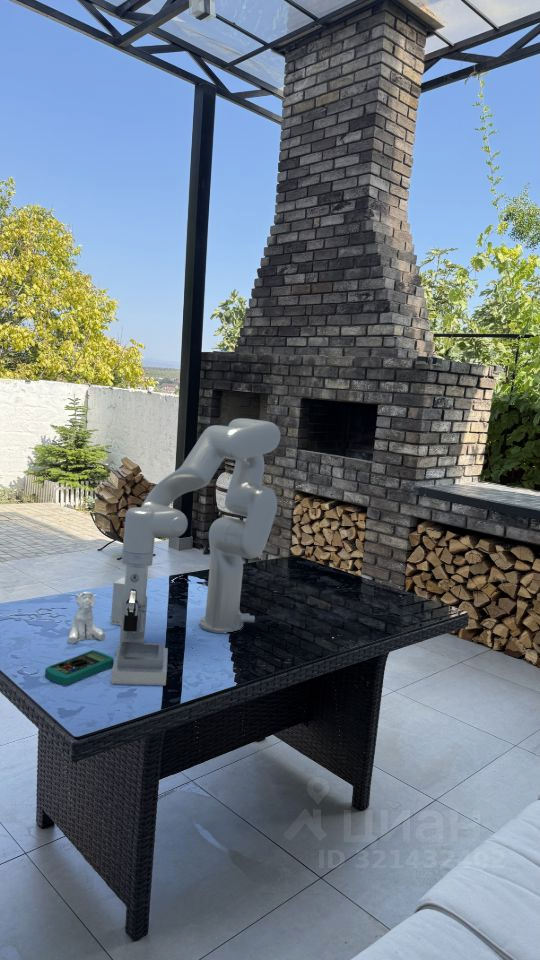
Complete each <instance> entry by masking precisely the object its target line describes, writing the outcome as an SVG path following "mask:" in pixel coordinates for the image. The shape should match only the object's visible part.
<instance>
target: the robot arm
mask: <svg viewBox="0 0 540 960" xmlns="http://www.w3.org/2000/svg"><path fill="white" fill-rule="evenodd" d="M280 441H281V430H280V429H279V427H278V426H277V424H275V423H273V422H271V421H267V420H261V419H260V420H259V419H252V418H235V419H233V420H231V421H230V422H229V424H228V426H226V425H219V424H218V425H217V424H215V425H210V426H208V427H207V428H206V429H204V431H203V432H202V433H201V435H200V436H199V438H198V440H197V441H196V443H195V445H194V446H193V447H192V449H191V450H190V451H189V453H188V455H187V457H186V458H185V459H184V461H183V463H182V464H181V466H180V467H179V468H177V469H176V470H175V471H173V472H171V473H170V474H169V475H167V476H166V477H164V478H163V479H162V480H161V481H159V482H157V484H156V485H155V486H154V487H153V488H152V489H151V491H150V492H149V493H148V495H147V496H146V498H145V499H144V501H143V502H142V504H141V506H140V507H139V506H138V507H137V506H135V507H130V508H129V509H127V510H126V513H125V519H124V529H123V530H124V532H123V533H124V534H123V544H122V554H121V564H122V565H125V575H124V578H125V589H124V604H125V605H127V606H126V614H125V616H124V627H123V630H124V631H133V632H136V631H137V622H138V615H137V611H138V604H139V605H141V606H143V605H144V603H145V596H146V597H147V585H148V573H149V572H148V570H149V567H151V566H152V565H153V561H154V560H153V558H154V550H155V549H154V548H155V539H156V538H164V539H176V538H179V537H180V536H182V535H184V534H185V532H186V531H187V529H188V518H187V516H186V515H185V513H183V512H182V511H181V510H179V509H176V508H173V507H170V505H171V504H172V503H173V502H174V501H175V500H176V499H177V498H179V497H181V496H182V495H184V494H187V493H189V492H193V491H197V490H199V489H202V488H204V487H206V486H208V485H209V483H210V482H211V480H212V479H213V478H214V475H215V473H217V471H218V468H220V465H221V464H222V463H223V461H224V460H225V459H229V460H232V461H235V464H234V469H233V472H232V476H231V478H230V482H229V484H228V489H227V492H226V495H225V500H224V505H225V508H226V509H227V510H228V511H229V512H230V513H233V514H236V515H239V516H242V517H245V518H246V519H245V521H243V520H241V519H237V518H233V517H229V516H228V517H227V516H222V517H219V518H217V519H215V520H214V521H213V522H212V524H211V525H210V528H209V530H208V543H209V555H210V556H209V557H210V558H209V572H208V583H207V594H206V595H207V596H206V604H205V605H206V606H205V615H204V616H203V617H200V619H199V626H200V627H201V629H203V630H206V631H207V632H212V633H216V634H225V633H224V632H233V631H237V630H240V629H241V628H242V627H243V628H244V623H255V621H256V620H255V619H256V617H255V615H250V613H242V611H241V610H240V603H241V594H242V593H241V592H242V584H243V583H242V582H243V573H244V563H243V558H245V559H257V558H258V557H259V556H260V555H261V554H262V553H263V551H264V549H265V548H266V545H267V543H268V540H269V537H270V533H271V530H272V527H273V524H274V521H275V518H276V517H275V516H276V514H277V510H278V499H277V496H276V495H277V494H276V493H275V492H274V490H273V489H272V488H270V487H268V486H265V485H262V481H263V477H264V473H265V460H264V457H263V455H265V454H268V453H271V452H272V451H274V450H275V449H276V448H277V447H278V445H279V443H280ZM136 590H137V592H136ZM135 602H137V603H135ZM135 607H136V608H135ZM243 628H242V629H243ZM242 629H241V630H242ZM241 630H240V631H241Z"/></svg>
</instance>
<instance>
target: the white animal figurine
mask: <svg viewBox="0 0 540 960" xmlns="http://www.w3.org/2000/svg"><path fill="white" fill-rule="evenodd" d="M73 595H74V598H75V599H76V600H77V602H76V604H77V606H78V609H77V610H76V612H75V614H74V617H73V618H74V619H73V621H72V622H71V627H70V631H69V633H68V636H67V637H68V639H67V641H68V643H69V644H71V645H73V644H76V643H77V642H82V641H85V640H87V641H89V640H90V641H91V640H98V641H101V642H102V641H104V640H105V638H106V633H105V632H104V631H103V630H102V628H99V627H96V625H95V624H94V613H93V610H92V608H93V607H94V606H95V605H96V602H95V601H96V600H95V599H96V596H97V593H96V594H93V592H90V591H88V590H87V591H82V592H80V593H79V594H78V593H74V594H73Z"/></svg>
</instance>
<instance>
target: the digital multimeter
mask: <svg viewBox="0 0 540 960" xmlns="http://www.w3.org/2000/svg"><path fill="white" fill-rule="evenodd" d="M114 660H115V658H113V657H112V656H110V655H109V654H106V653H103V652H101V651H98V650H94V649H92V650H89V651H86V652H85V653H82V654H79V655H77V656H74V657H72V658H71V657H70V658H69V659H66V660H63V661H60V662H57V663H54V664H51V665H49V666H47V667H45V669H44V671H45V672H44V676H45V677H46V678H47V679H48V680H49V681H51V682H53V683H55V684H59V685H62V686H65V685H66V687H68V686H70V685H72V684H75V683H77V682H79V681H81V680H84V679H85V678H88V677H90V675H91V676H93V675H96V674H98V673H100V672H103V671H106V670H108V669H111V668H113V664H114ZM83 678H84V679H83ZM76 681H77V682H76ZM67 685H68V686H67Z"/></svg>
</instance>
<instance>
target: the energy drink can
mask: <svg viewBox="0 0 540 960" xmlns="http://www.w3.org/2000/svg"><path fill="white" fill-rule="evenodd" d="M136 592H137V590H136ZM135 603H137V602H135ZM126 606H127V605H125V604H124V597H123V603H122V617H121V625H120V633H119V635H120V636H119V646H121V644H122V642H141V643H145V635H146V623H147V622H146V621H147V610H148V609H147V606H148V596H147V595H146V596H145V603H144V605H143V606H141V605H139V604H138V611H137V615H138V622H137V631H136V632H133V631H124V630H123V627H124V616H125V614H126ZM135 608H136V607H135Z"/></svg>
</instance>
